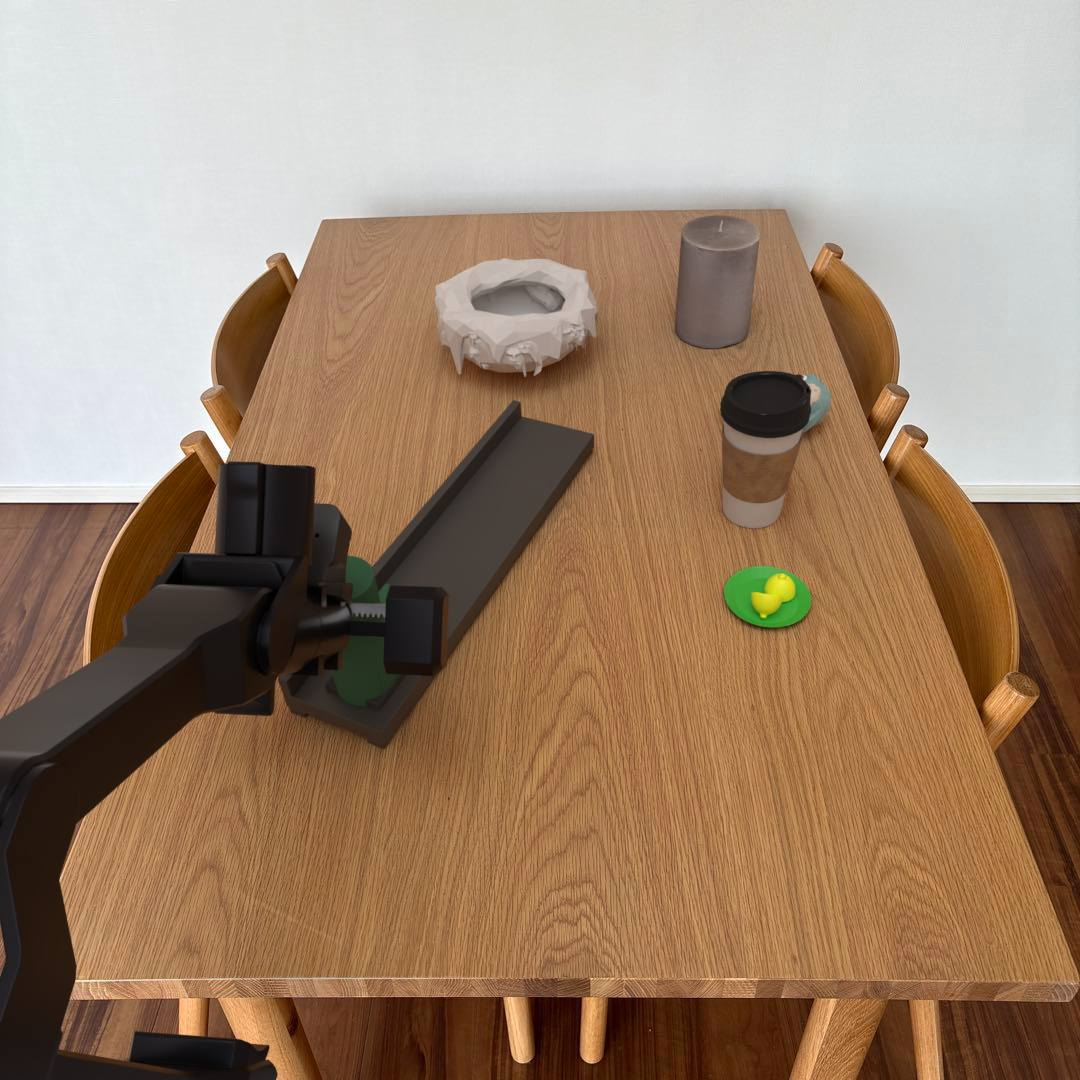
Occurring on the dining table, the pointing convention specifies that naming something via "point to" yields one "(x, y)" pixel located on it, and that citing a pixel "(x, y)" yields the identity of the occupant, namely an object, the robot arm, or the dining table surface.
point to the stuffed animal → (816, 400)
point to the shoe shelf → (460, 550)
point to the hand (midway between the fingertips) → (350, 621)
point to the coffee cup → (761, 443)
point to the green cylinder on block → (364, 648)
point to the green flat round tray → (767, 596)
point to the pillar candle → (716, 280)
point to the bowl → (515, 314)
